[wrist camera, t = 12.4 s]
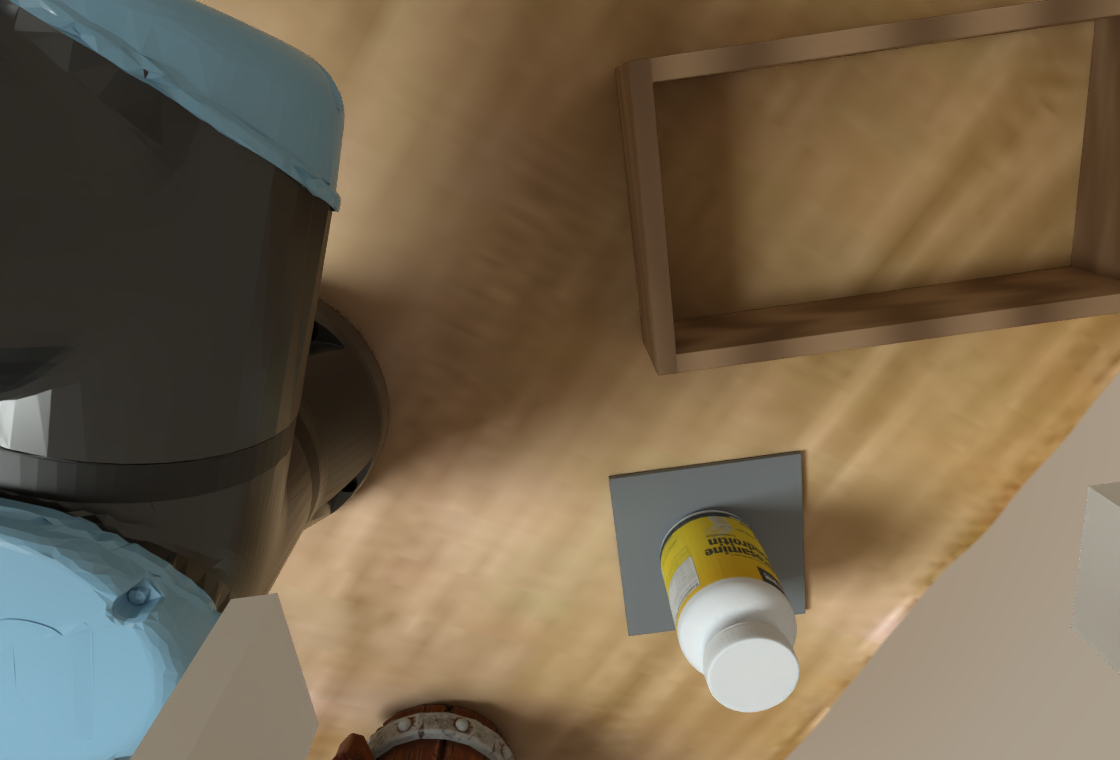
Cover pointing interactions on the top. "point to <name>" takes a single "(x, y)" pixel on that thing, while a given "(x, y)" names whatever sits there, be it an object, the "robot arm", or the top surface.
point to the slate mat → (731, 486)
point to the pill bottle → (730, 610)
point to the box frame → (895, 316)
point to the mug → (429, 737)
